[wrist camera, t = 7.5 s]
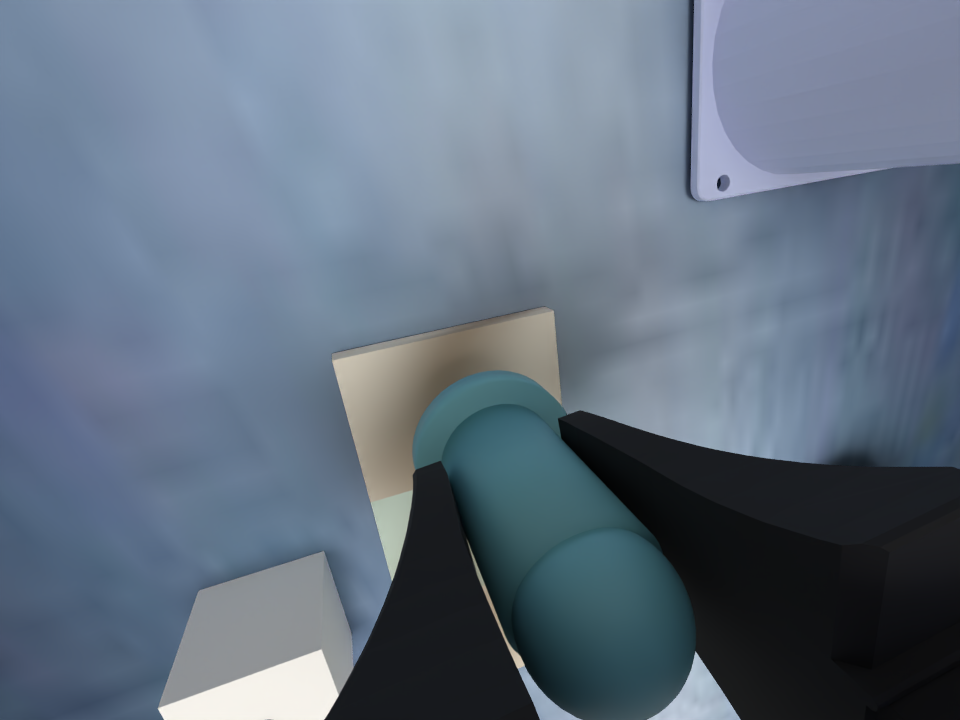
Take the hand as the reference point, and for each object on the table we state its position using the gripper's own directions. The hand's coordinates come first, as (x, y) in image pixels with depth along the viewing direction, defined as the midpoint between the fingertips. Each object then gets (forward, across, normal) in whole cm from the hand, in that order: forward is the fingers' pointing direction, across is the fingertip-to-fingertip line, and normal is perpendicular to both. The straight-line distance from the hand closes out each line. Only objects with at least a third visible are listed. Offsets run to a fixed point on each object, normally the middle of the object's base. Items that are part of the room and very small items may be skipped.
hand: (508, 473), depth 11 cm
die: (+5, +8, +6) cm, 11 cm away
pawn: (+2, 0, 0) cm, 2 cm away
